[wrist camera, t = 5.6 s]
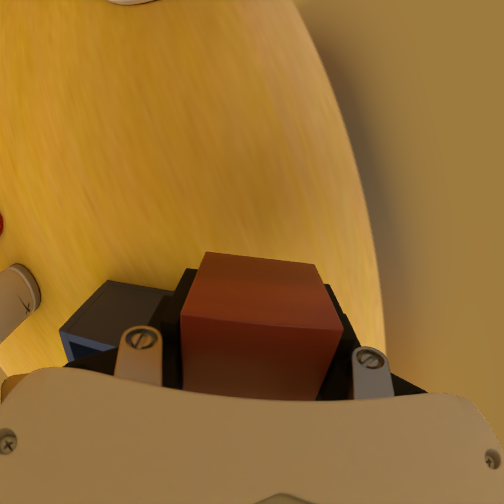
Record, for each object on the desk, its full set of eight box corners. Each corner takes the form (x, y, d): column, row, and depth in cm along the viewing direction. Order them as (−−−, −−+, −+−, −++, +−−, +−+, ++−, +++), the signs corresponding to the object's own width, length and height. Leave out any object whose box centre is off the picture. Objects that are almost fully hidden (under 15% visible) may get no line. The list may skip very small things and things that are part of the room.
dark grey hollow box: (107, 279, 24) (58, 330, 16) (246, 301, 25) (242, 369, 17) (124, 383, 29) (100, 436, 21) (232, 403, 30) (227, 465, 22)
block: (205, 250, 11) (179, 313, 7) (314, 263, 11) (345, 328, 7) (201, 337, 13) (183, 411, 9) (293, 347, 13) (306, 421, 9)
